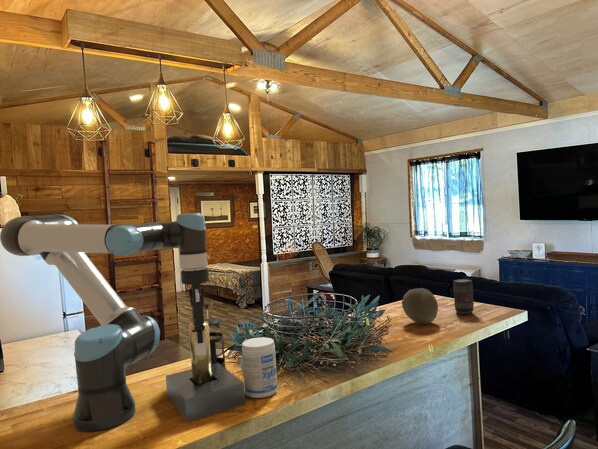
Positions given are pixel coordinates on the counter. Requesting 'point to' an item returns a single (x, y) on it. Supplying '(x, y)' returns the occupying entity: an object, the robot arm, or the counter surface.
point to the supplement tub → (259, 367)
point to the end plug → (200, 357)
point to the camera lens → (463, 297)
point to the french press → (215, 352)
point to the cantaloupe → (420, 305)
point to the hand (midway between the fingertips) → (200, 350)
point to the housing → (205, 393)
